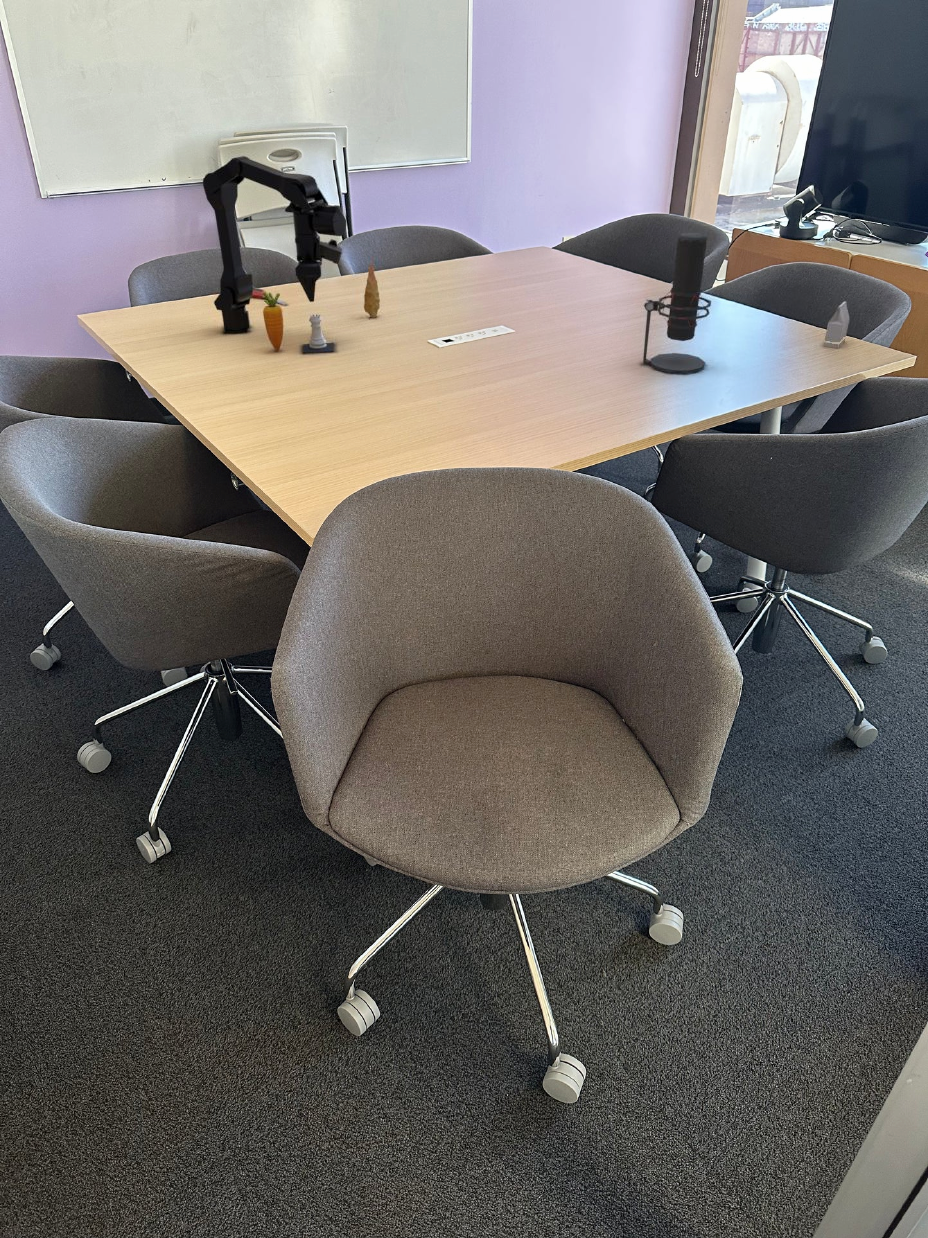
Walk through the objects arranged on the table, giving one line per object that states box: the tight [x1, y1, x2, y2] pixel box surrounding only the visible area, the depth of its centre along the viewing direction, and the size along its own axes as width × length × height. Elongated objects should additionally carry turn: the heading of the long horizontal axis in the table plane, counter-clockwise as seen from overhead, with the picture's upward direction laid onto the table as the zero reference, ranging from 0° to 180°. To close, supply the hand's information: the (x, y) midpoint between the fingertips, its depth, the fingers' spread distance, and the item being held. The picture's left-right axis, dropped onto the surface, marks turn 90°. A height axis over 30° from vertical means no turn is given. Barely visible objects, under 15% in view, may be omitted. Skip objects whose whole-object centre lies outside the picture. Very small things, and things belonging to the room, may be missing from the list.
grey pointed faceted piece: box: [823, 301, 851, 349], centre depth 230 cm, size 4×7×10 cm, turn 147°
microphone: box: [642, 232, 712, 375], centre depth 212 cm, size 14×13×30 cm
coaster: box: [302, 342, 335, 355], centre depth 234 cm, size 8×7×1 cm
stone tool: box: [363, 262, 381, 319], centre depth 254 cm, size 5×2×15 cm, turn 141°
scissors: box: [251, 287, 287, 306], centre depth 277 cm, size 8×21×2 cm, turn 58°
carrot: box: [262, 290, 284, 352], centre depth 229 cm, size 5×5×15 cm
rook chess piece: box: [308, 314, 327, 349], centre depth 232 cm, size 4×4×8 cm
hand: (312, 296), depth 233 cm, fingers open, 9 cm apart
